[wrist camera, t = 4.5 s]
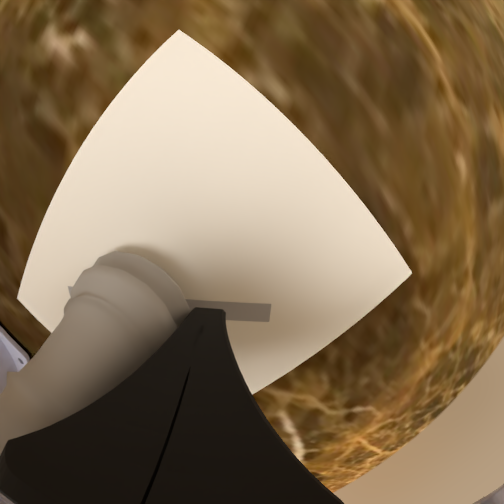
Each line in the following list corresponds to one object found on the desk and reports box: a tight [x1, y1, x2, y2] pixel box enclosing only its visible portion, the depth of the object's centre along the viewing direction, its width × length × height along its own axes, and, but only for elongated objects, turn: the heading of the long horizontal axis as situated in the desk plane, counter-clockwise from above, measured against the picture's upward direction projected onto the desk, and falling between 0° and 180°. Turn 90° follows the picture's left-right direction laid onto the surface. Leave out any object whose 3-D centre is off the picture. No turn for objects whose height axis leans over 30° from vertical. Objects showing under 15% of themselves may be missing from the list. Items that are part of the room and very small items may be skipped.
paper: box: [17, 30, 412, 394], centre depth 9 cm, size 14×12×1 cm
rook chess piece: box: [0, 251, 191, 455], centre depth 5 cm, size 4×4×8 cm
